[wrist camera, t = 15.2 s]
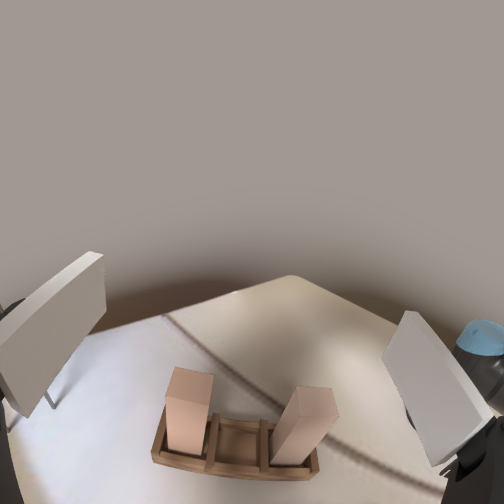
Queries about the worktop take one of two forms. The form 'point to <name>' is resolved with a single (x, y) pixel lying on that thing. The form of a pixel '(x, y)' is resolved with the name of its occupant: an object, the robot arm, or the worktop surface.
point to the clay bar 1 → (187, 410)
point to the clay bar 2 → (302, 425)
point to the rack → (232, 452)
